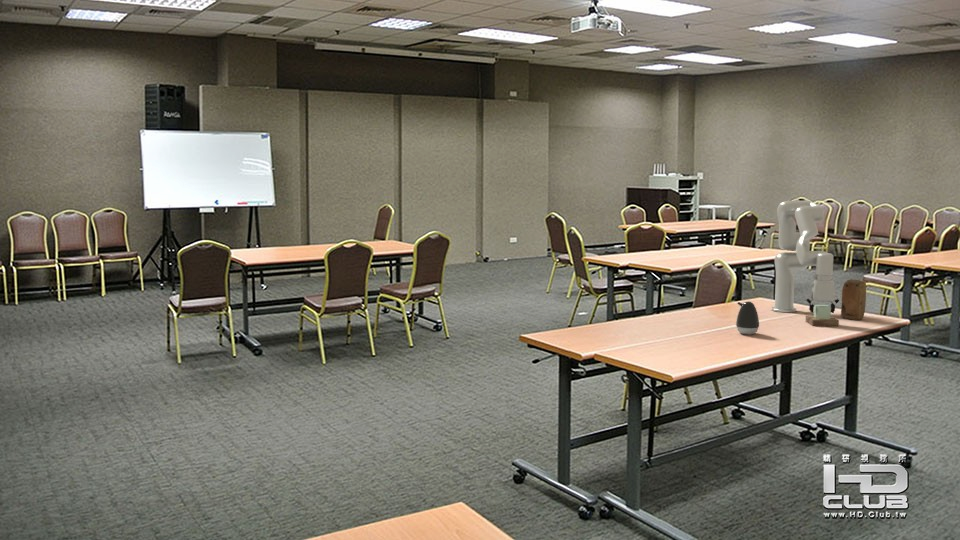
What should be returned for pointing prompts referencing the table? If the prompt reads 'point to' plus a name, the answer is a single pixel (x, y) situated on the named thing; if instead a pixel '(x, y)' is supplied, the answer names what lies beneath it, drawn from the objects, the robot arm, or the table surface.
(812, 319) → the base
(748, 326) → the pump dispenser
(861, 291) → the block
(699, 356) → the table surface
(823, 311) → the cube
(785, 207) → the robot arm
